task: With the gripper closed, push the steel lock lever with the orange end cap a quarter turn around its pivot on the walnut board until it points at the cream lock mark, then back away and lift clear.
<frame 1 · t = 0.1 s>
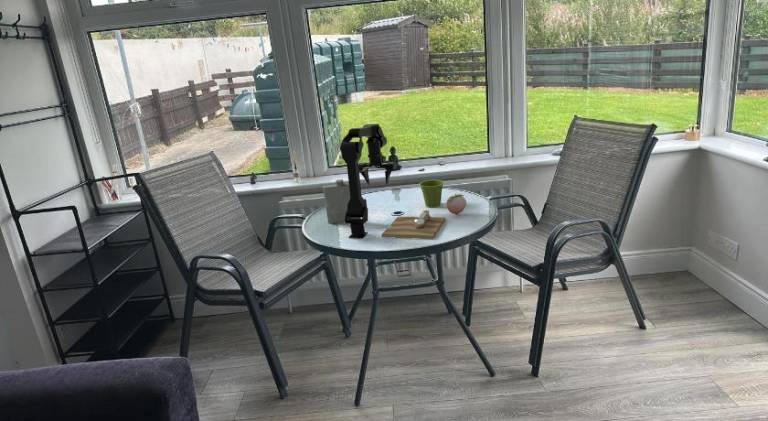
hand: (378, 184, 236), 15 cm above the table, tool pointing down, fingers open, 9 cm apart
lock lever: (422, 218, 218), point 4 cm above the table, hinge at 0.0°
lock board: (414, 228, 217), on the table
decorative fruit: (456, 215, 229), on the table
hip flask: (344, 222, 236), on the table
plant pot: (433, 205, 245), on the table
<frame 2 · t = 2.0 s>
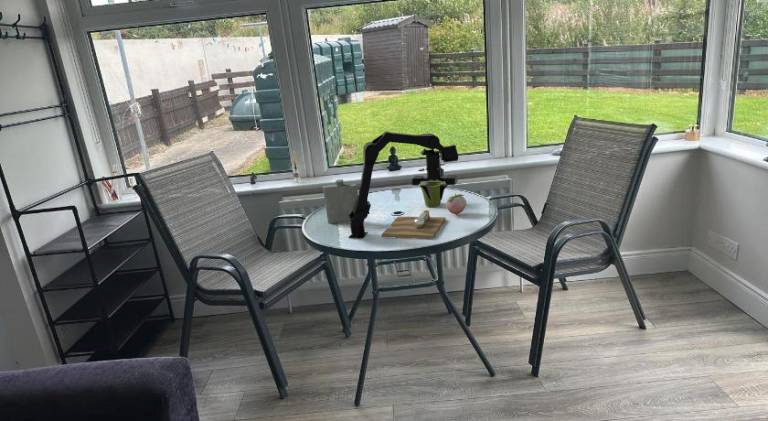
hand: (435, 199, 217), 11 cm above the table, tool pointing down, fingers open, 4 cm apart
nothing on the table moved.
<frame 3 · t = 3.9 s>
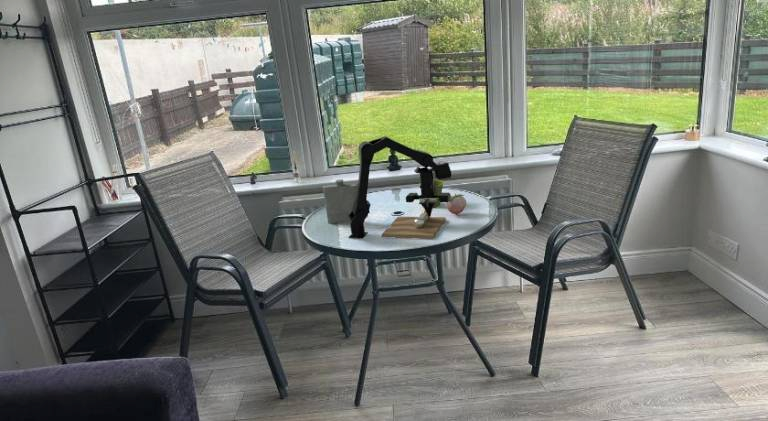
hand: (429, 216, 220), 3 cm above the table, tool pointing down, fingers closed
lock lever: (422, 218, 218), point 4 cm above the table, hinge at 0.0°, touching gripper
everything else where it was.
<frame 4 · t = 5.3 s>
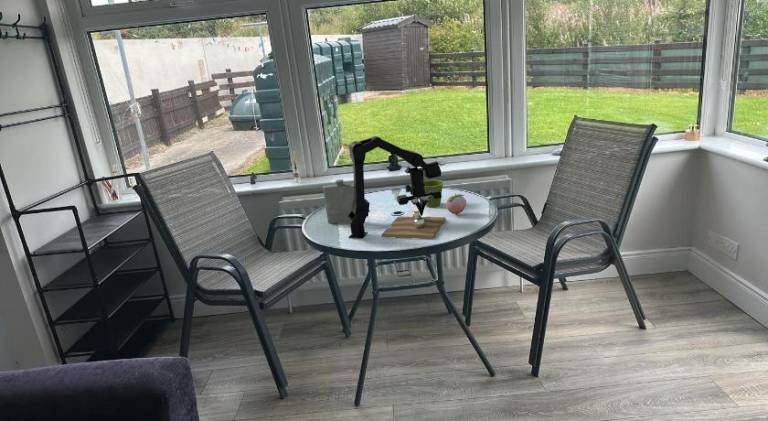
hand: (421, 215, 221), 4 cm above the table, tool pointing down, fingers closed
lock lever: (417, 219, 218), point 4 cm above the table, hinge at 24.2°, touching gripper
everything else where it was.
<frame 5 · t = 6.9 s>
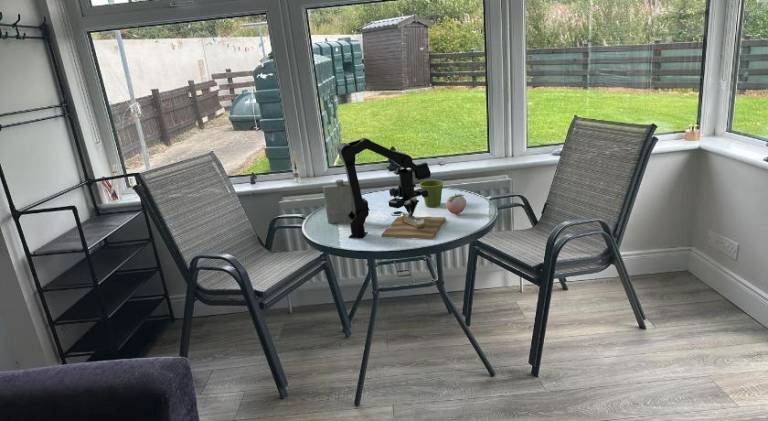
hand: (411, 216, 221), 4 cm above the table, tool pointing down, fingers closed
lock lever: (412, 220, 217), point 4 cm above the table, hinge at 54.3°, touching gripper
everything else where it was.
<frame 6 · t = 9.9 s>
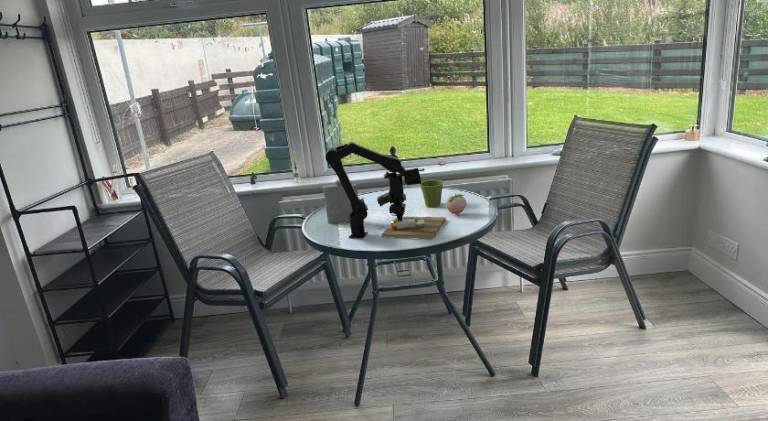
hand: (399, 222, 216), 4 cm above the table, tool pointing down, fingers closed
lock lever: (407, 223, 214), point 4 cm above the table, hinge at 103.5°, touching gripper
everything else where it was.
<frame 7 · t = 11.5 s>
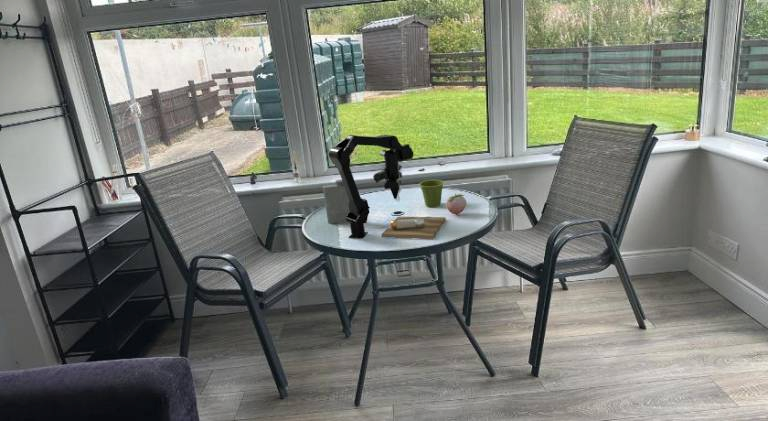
hand: (395, 198, 224), 11 cm above the table, tool pointing down, fingers closed
lock lever: (407, 223, 214), point 4 cm above the table, hinge at 103.7°
everything else where it was.
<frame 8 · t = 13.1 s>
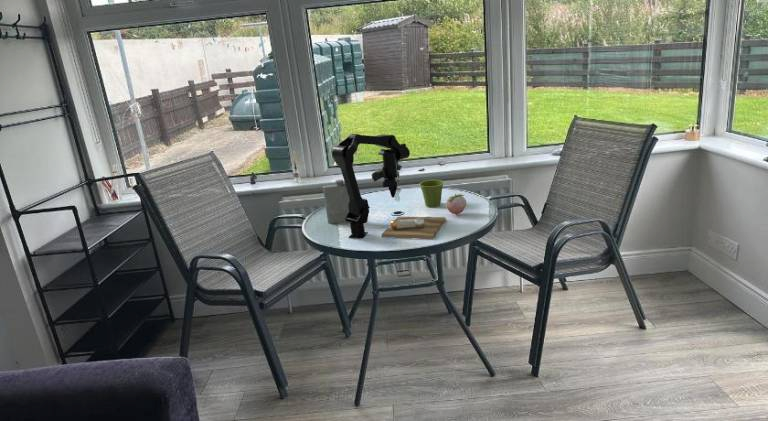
hand: (393, 197, 227), 11 cm above the table, tool pointing down, fingers closed
nothing on the table moved.
at the end: lock lever at +104° (first picture: +0°); the gripper is holding nothing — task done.
